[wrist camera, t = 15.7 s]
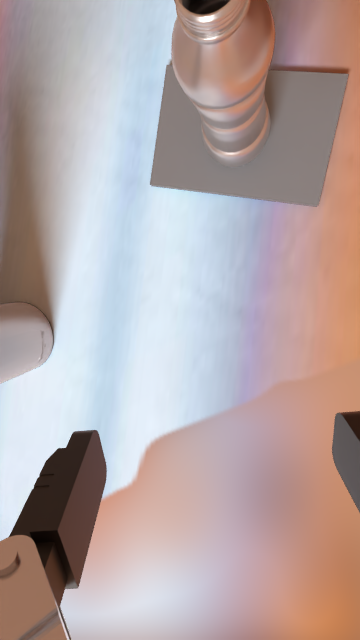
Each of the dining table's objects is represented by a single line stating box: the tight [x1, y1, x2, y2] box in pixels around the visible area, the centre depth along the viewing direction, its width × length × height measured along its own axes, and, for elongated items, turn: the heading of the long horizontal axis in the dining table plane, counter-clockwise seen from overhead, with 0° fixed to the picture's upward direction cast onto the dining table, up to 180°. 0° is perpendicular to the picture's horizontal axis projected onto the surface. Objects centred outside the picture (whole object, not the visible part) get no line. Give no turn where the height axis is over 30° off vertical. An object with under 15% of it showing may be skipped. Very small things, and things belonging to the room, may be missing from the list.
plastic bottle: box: [171, 0, 275, 167], centre depth 25 cm, size 6×7×20 cm
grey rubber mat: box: [150, 65, 349, 207], centre depth 35 cm, size 18×12×1 cm, turn 81°
